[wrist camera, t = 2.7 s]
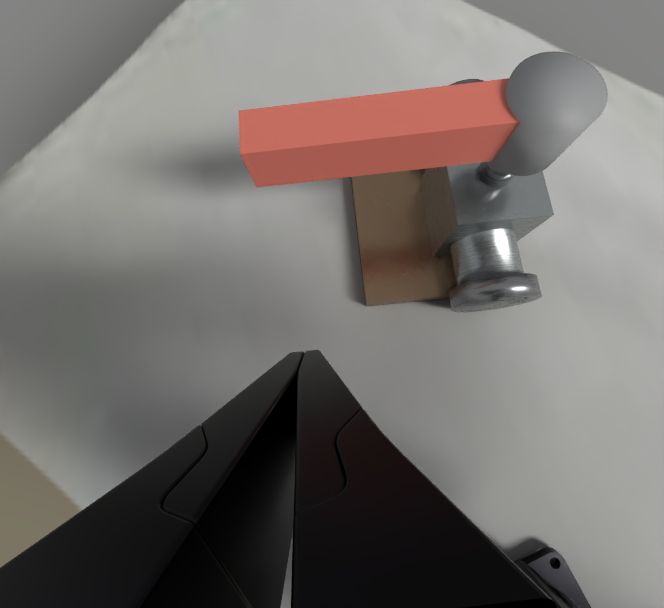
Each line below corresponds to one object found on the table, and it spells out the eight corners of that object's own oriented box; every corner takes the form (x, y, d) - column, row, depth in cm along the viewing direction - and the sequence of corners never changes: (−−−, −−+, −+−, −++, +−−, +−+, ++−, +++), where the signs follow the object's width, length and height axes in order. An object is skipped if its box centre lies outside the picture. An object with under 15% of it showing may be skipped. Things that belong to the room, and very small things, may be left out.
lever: (566, 171, 12) (619, 124, 10) (258, 205, 13) (238, 168, 10) (548, 104, 13) (593, 46, 10) (256, 139, 13) (236, 89, 11)
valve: (516, 307, 18) (611, 276, 12) (367, 322, 18) (378, 298, 12) (479, 136, 20) (540, 31, 14) (348, 151, 21) (348, 54, 14)
